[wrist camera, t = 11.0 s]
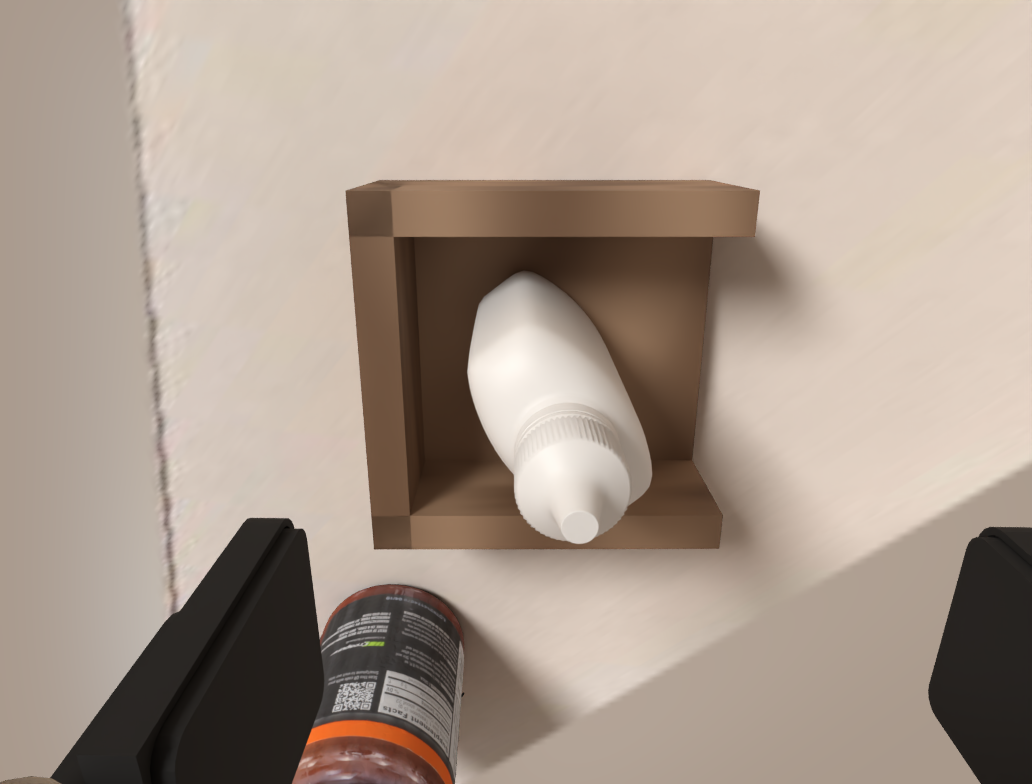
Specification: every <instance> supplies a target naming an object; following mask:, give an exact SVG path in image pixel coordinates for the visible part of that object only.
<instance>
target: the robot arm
mask: <svg viewBox="0 0 1032 784" xmlns="http://www.w3.org/2000/svg"><path fill="white" fill-rule="evenodd" d="M928 691H929V692H928V693H929V701H930V705H931V708H932V710H933V713H934V714H935V716H936V718H937V719H938V721H939V722H940V724H941V725H942V727H943V728H944V730H945V731H946V733H947V734H948V736H949V737H950V739H951V740H952V741H953V743H954V745H955V746H956V747H957V749H958V750H959V752H960V753H961V755H962V756H963V758H964V759H965V761H966V762H967V764H968V765H969V767H970V768H971V770H972V771H973V773H974V774H975V776H976V777H977V779H978V780H979V782H980V783H981V784H1032V528H1025V527H989V528H986V529H984V530H983V531H982V533H980V535H979V537H976V538H973V539H972V540H971V541H970V542H969V544H968V546H967V549H966V552H965V556H964V560H963V563H962V567H961V571H960V574H959V578H958V581H957V586H956V589H955V593H954V596H953V600H952V604H951V607H950V611H949V615H948V618H947V622H946V625H945V629H944V633H943V636H942V640H941V644H940V648H939V651H938V654H937V658H936V662H935V665H934V669H933V673H932V677H931V680H930V684H929V690H928ZM323 692H324V670H323V662H322V654H321V646H320V639H319V631H318V623H317V615H316V607H315V599H314V591H313V583H312V575H311V567H310V560H309V552H308V544H307V537H306V533H305V531H304V530H303V529H294V525H293V523H292V521H291V520H290V519H289V518H249V519H247V520H246V521H245V522H244V523H243V524H242V526H241V527H240V529H239V530H238V531H237V533H236V534H235V536H234V537H233V538H232V540H231V541H230V542H229V544H228V545H227V547H226V548H225V549H224V551H223V552H222V554H221V555H220V556H219V558H218V559H217V561H216V562H215V563H214V565H213V566H212V567H211V569H210V570H209V572H208V573H207V574H206V576H205V577H204V579H203V580H202V581H201V583H200V584H199V585H198V587H197V588H196V590H195V591H194V592H193V594H192V595H191V597H190V598H189V599H188V601H187V602H186V604H185V605H184V606H183V608H182V609H181V610H180V611H179V612H177V613H174V614H172V615H171V616H170V617H169V618H168V619H167V620H166V621H165V623H164V624H163V625H162V627H161V628H160V629H159V631H158V632H157V634H156V635H155V636H154V638H153V639H152V640H151V642H150V643H149V644H148V646H147V647H146V648H145V650H144V651H143V653H142V654H141V655H140V657H139V658H138V659H137V661H136V662H135V664H134V665H133V666H132V667H131V669H130V670H129V672H128V673H127V674H126V676H125V677H124V678H123V680H122V681H121V683H120V684H119V685H118V686H117V688H116V689H115V691H114V692H113V693H112V695H111V696H110V697H109V699H108V700H107V701H106V703H105V704H104V706H103V707H102V708H101V710H100V711H99V712H98V714H97V715H96V716H95V718H94V719H93V721H92V722H91V723H90V725H89V726H88V727H87V729H86V730H85V731H84V733H83V734H82V735H81V737H80V738H79V740H78V741H77V742H76V744H75V745H74V746H73V748H72V749H71V750H70V752H69V753H68V754H67V756H66V757H65V759H64V760H63V761H62V763H61V764H60V765H59V767H58V768H57V769H56V771H55V772H54V774H53V775H52V776H51V778H43V777H33V776H30V777H23V778H17V779H12V780H5V781H3V782H0V784H292V782H293V779H294V777H295V774H296V771H297V768H298V766H299V763H300V760H301V757H302V755H303V752H304V749H305V746H306V744H307V741H308V738H309V735H310V733H311V730H312V727H313V724H314V722H315V719H316V716H317V713H318V711H319V708H320V705H321V702H322V698H323Z"/></svg>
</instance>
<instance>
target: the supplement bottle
mask: <svg viewBox="0 0 1032 784" xmlns="http://www.w3.org/2000/svg"><path fill="white" fill-rule="evenodd" d="M320 646H321V654H322V662H323V670H324V692H323V698H322V702H321V705H320V708H319V711H318V713H317V716H316V719H315V722H314V724H313V727H312V730H311V733H310V735H309V738H308V741H307V744H306V746H305V749H304V752H303V755H302V757H301V760H300V763H299V766H298V768H297V771H296V774H295V777H294V779H293V782H292V784H455V777H456V764H457V748H458V739H459V722H460V709H461V698H462V696H463V695H464V692H463V693H462V683H463V670H464V638H463V634H462V630H461V627H460V624H459V622H458V620H457V618H456V617H455V615H454V614H453V613H452V612H451V610H450V609H449V608H447V606H446V605H445V604H444V603H443V602H441V601H440V600H439V599H437V598H436V597H434V596H432V595H431V594H430V593H427V592H425V591H423V590H421V589H418V588H414V587H408V586H403V585H391V584H387V585H379V586H374V587H370V588H367V589H364V590H361V591H358V592H357V593H355V594H353V595H351V596H350V597H348V598H347V599H345V600H344V601H343V602H342V603H341V604H340V605H339V606H338V607H337V608H336V609H335V611H334V612H333V613H332V615H331V616H330V618H329V620H328V622H327V624H326V626H325V629H324V631H323V634H322V636H321V638H320Z"/></svg>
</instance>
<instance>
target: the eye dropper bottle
mask: <svg viewBox="0 0 1032 784" xmlns="http://www.w3.org/2000/svg"><path fill="white" fill-rule="evenodd" d="M467 374H468V380H469V386H470V391H471V395H472V399H473V402H474V405H475V408H476V411H477V414H478V416H479V419H480V421H481V424H482V426H483V428H484V430H485V432H486V434H487V437H488V438H489V440H490V442H491V444H492V445H493V447H494V449H495V451H496V452H497V454H498V455H499V457H500V458H501V460H502V461H503V462H504V463H505V465H506V466H507V467H508V469H509V470H510V471H511V472H512V473H513V474H514V493H515V499H516V504H517V505H518V509H519V510H520V514H521V515H523V519H525V520H527V523H528V524H530V525H531V527H533V528H535V530H536V531H539V532H540V534H545V536H547V537H550V538H553V539H556V540H561V541H568V542H571V543H575V544H584V543H587V542H589V541H591V540H592V539H594V538H595V537H598V536H599V535H601V534H604V532H606V531H608V530H609V529H610V528H613V525H615V524H617V521H619V520H621V517H622V516H623V515H625V514H624V512H625V511H626V510H627V507H628V506H629V505H630V504H632V503H633V502H634V501H636V500H637V499H638V498H640V497H641V496H642V495H643V494H644V493H645V492H646V490H647V489H648V488H649V486H650V483H651V478H652V464H651V459H650V453H649V449H648V445H647V442H646V438H645V435H644V432H643V429H642V426H641V424H640V422H639V419H638V417H637V415H636V412H635V410H634V408H633V405H632V403H631V401H630V398H629V396H628V394H627V392H626V390H625V387H624V385H623V383H622V381H621V378H620V376H619V374H618V372H617V369H616V367H615V365H614V363H613V361H612V358H611V356H610V354H609V352H608V349H607V347H606V345H605V343H604V341H603V339H602V337H601V335H600V334H599V332H598V330H597V329H596V327H595V326H594V324H593V323H592V321H591V320H590V319H589V317H588V316H587V315H586V313H585V312H584V311H583V310H582V309H581V308H580V307H579V305H578V304H577V303H576V302H575V301H574V300H573V299H572V298H570V297H569V296H568V295H567V294H566V293H565V292H563V291H562V290H561V289H560V288H558V287H557V286H556V285H554V284H553V283H551V282H550V281H548V280H547V279H545V278H543V277H542V276H540V275H538V274H536V273H534V272H530V271H524V270H523V271H521V272H518V273H515V274H514V275H512V276H511V277H509V278H508V279H506V280H505V281H504V282H502V283H501V284H500V285H498V286H497V287H496V288H494V289H493V290H492V291H491V292H489V293H488V294H487V295H486V296H484V298H483V299H482V300H481V302H480V303H479V305H478V310H477V315H476V320H475V324H474V330H473V335H472V340H471V346H470V352H469V361H468V370H467Z"/></svg>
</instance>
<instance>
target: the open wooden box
mask: <svg viewBox="0 0 1032 784" xmlns="http://www.w3.org/2000/svg"><path fill="white" fill-rule="evenodd" d="M759 195H760V191H759V190H754V189H749V188H744V187H740V186H735V185H730V184H725V183H720V182H716V181H711V180H379V181H376V182H373V183H369V184H366V185H363V186H360V187H356V188H353V189H350V190H347V191H346V203H347V215H348V228H349V240H350V253H351V265H352V278H353V291H354V303H355V316H356V328H357V341H358V353H359V366H360V378H361V391H362V403H363V416H364V428H365V441H366V453H367V466H368V478H369V491H370V503H371V516H372V528H373V541H374V549H719V544H720V535H721V527H722V518H723V515H722V513H721V511H720V510H719V508H718V506H717V504H716V502H715V501H714V499H713V497H712V495H711V493H710V492H709V490H708V488H707V486H706V484H705V483H704V481H703V479H702V477H701V475H700V474H699V472H698V470H697V468H696V467H695V465H694V463H693V461H692V455H693V445H694V434H695V424H696V413H697V402H698V392H699V381H700V371H701V360H702V350H703V339H704V328H705V318H706V307H707V297H708V286H709V276H710V265H711V254H712V244H713V237H755V230H756V221H757V212H758V204H759ZM523 270H524V271H530V272H534V273H536V274H538V275H540V276H542V277H543V278H545V279H547V280H548V281H550V282H551V283H553V284H554V285H556V286H557V287H558V288H560V289H561V290H562V291H563V292H565V293H566V294H567V295H568V296H569V297H570V298H572V299H573V300H574V301H575V302H576V303H577V304H578V305H579V307H580V308H581V309H582V310H583V311H584V312H585V313H586V315H587V316H588V317H589V319H590V320H591V321H592V323H593V324H594V326H595V327H596V329H597V330H598V332H599V334H600V335H601V337H602V339H603V341H604V343H605V345H606V347H607V349H608V352H609V354H610V356H611V358H612V361H613V363H614V365H615V367H616V369H617V372H618V374H619V376H620V378H621V381H622V383H623V385H624V387H625V390H626V392H627V394H628V396H629V398H630V401H631V403H632V405H633V408H634V410H635V412H636V415H637V417H638V419H639V422H640V424H641V426H642V429H643V432H644V435H645V438H646V442H647V445H648V449H649V453H650V459H651V464H652V478H651V483H650V486H649V488H648V489H647V490H646V492H645V493H644V494H643V495H642V496H641V497H640V498H638V499H637V500H636V501H634V502H633V503H632V504H630V505H629V506H628V507H627V510H626V511H625V512H624V514H625V515H623V516H622V517H621V520H619V521H617V524H615V525H613V528H610V529H609V530H608V531H606V532H604V534H601V535H599V536H598V537H595V538H594V539H592V540H591V541H589V542H587V543H584V544H575V543H571V542H568V541H561V540H556V539H553V538H550V537H547V536H545V534H540V532H539V531H536V530H535V528H533V527H531V525H530V524H528V523H527V520H525V519H523V515H521V514H520V510H519V509H518V505H517V504H516V499H515V493H514V474H513V473H512V472H511V471H510V470H509V469H508V467H507V466H506V465H505V463H504V462H503V461H502V460H501V458H500V457H499V455H498V454H497V452H496V451H495V449H494V447H493V445H492V444H491V442H490V440H489V438H488V437H487V434H486V432H485V430H484V428H483V426H482V424H481V421H480V419H479V416H478V414H477V411H476V408H475V405H474V402H473V399H472V395H471V391H470V386H469V380H468V374H467V370H468V361H469V352H470V346H471V340H472V335H473V330H474V324H475V320H476V315H477V310H478V305H479V303H480V302H481V300H482V299H483V298H484V296H486V295H487V294H488V293H489V292H491V291H492V290H493V289H494V288H496V287H497V286H498V285H500V284H501V283H502V282H504V281H505V280H506V279H508V278H509V277H511V276H512V275H514V274H515V273H518V272H521V271H523Z"/></svg>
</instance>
